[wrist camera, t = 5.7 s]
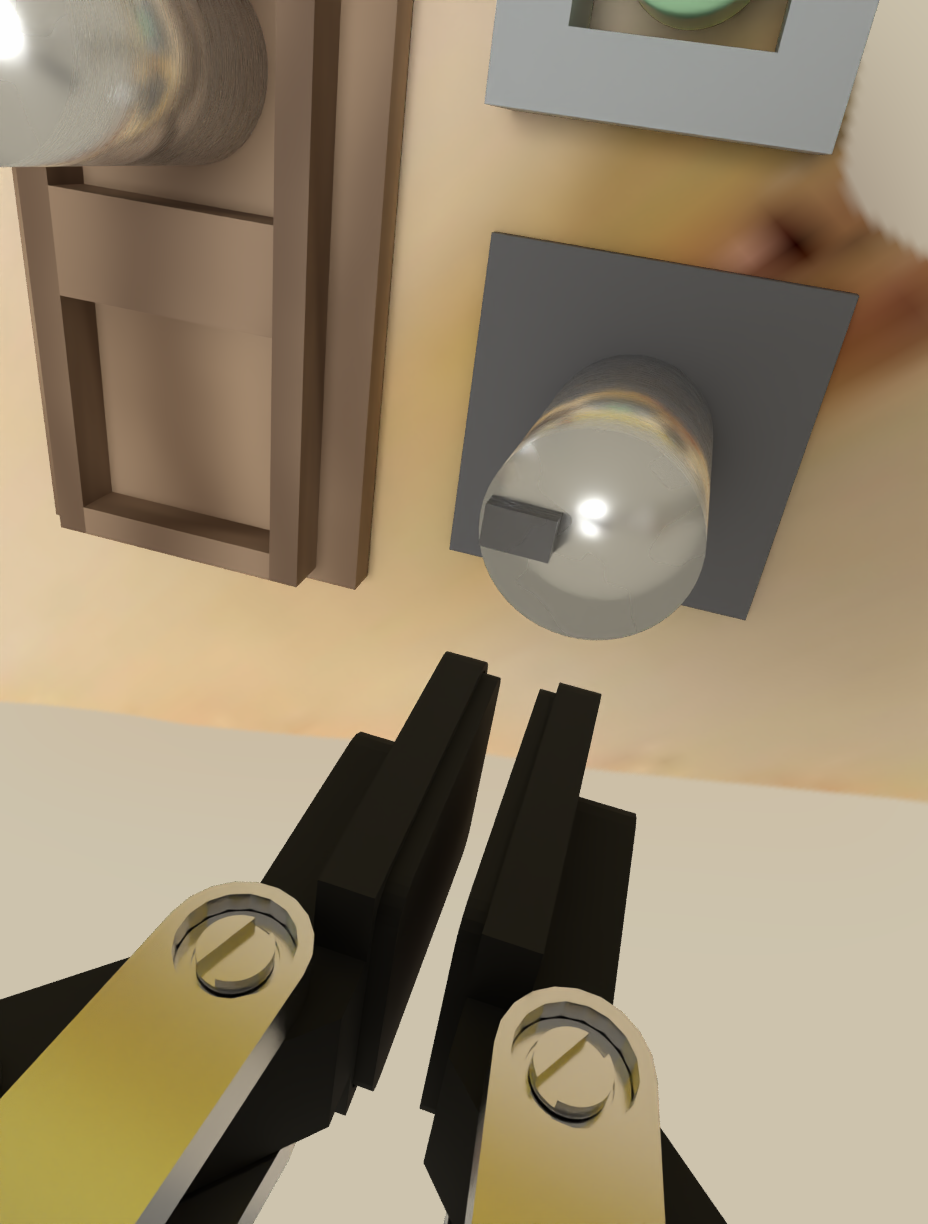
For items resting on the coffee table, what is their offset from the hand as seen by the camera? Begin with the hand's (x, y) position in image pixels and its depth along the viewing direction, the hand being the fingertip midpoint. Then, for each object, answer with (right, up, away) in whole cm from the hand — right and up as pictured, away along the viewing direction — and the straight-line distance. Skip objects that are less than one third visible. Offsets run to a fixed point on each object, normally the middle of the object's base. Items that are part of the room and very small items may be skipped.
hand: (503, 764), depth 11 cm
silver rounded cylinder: (+4, +7, +14) cm, 17 cm away
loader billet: (-8, +17, +12) cm, 22 cm away
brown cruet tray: (-8, +13, +16) cm, 22 cm away
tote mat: (+5, +7, +15) cm, 17 cm away
